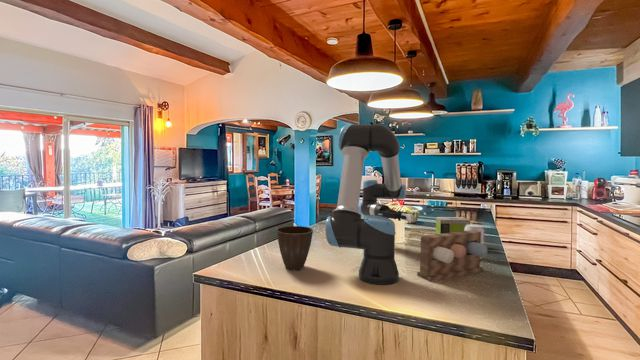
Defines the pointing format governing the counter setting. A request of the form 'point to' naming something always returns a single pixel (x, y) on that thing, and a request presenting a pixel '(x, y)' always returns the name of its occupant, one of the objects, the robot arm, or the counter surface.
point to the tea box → (450, 224)
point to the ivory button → (442, 254)
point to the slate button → (476, 249)
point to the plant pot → (294, 245)
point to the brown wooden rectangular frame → (458, 266)
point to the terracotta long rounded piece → (458, 250)
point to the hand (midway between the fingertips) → (412, 218)
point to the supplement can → (476, 228)
